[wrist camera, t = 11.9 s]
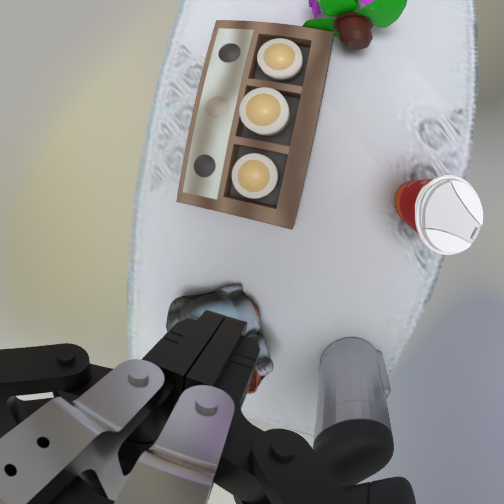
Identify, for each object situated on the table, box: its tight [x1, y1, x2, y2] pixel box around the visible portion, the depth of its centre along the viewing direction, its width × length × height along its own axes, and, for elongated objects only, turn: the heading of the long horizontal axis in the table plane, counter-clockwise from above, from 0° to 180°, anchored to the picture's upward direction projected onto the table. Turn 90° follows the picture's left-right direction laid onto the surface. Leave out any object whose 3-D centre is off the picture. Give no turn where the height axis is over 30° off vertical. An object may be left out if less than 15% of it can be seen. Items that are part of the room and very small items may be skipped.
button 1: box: [257, 38, 303, 82], centre depth 32 cm, size 6×6×3 cm
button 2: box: [232, 153, 280, 198], centre depth 37 cm, size 6×6×3 cm
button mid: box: [239, 87, 290, 136], centre depth 32 cm, size 6×6×3 cm
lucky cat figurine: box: [166, 286, 273, 393], centre depth 41 cm, size 15×12×14 cm
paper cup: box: [395, 175, 483, 255], centre depth 29 cm, size 8×8×14 cm
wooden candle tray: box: [177, 20, 333, 230], centre depth 36 cm, size 16×27×3 cm, turn 168°
